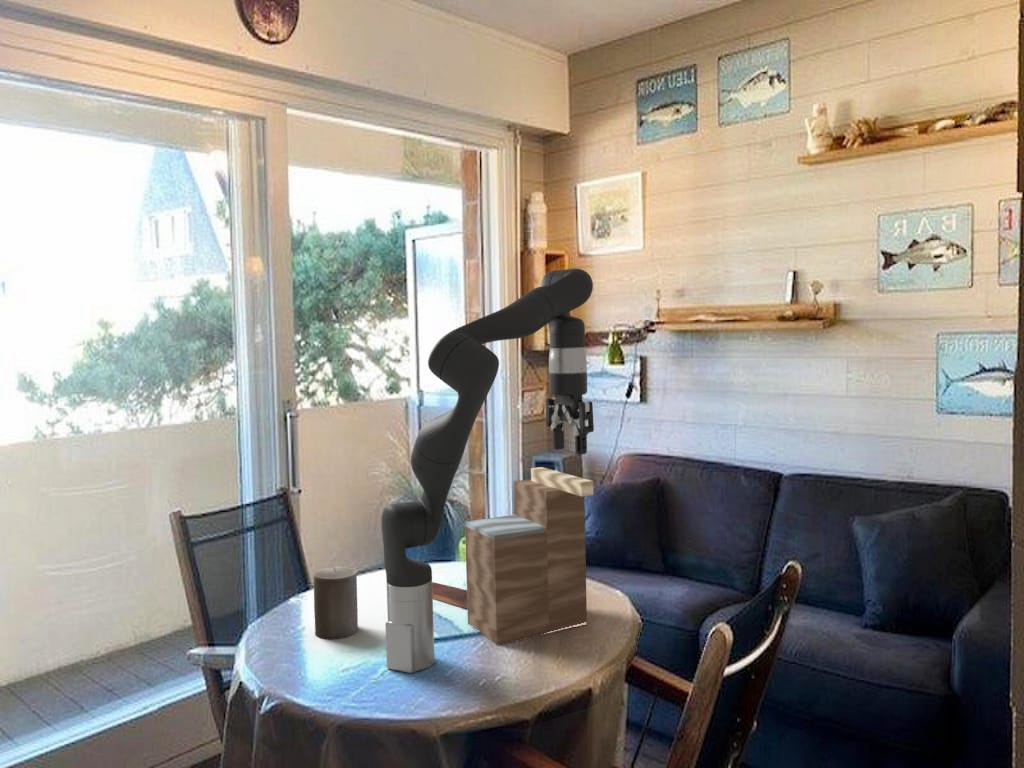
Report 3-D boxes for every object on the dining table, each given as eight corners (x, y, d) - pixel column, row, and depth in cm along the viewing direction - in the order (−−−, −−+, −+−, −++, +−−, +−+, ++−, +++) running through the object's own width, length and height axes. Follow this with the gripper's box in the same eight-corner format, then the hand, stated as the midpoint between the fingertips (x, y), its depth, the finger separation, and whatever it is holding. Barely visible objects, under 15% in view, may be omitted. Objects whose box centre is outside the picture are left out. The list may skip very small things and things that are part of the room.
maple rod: (593, 494, 173) (593, 481, 173) (581, 496, 172) (581, 482, 172) (542, 479, 193) (541, 467, 192) (531, 480, 191) (530, 468, 191)
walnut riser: (586, 625, 185) (584, 486, 183) (496, 645, 174) (493, 498, 172) (553, 606, 198) (550, 476, 196) (467, 623, 187) (464, 487, 185)
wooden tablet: (403, 586, 214) (432, 573, 221) (404, 594, 214) (433, 581, 221) (472, 609, 195) (501, 594, 202) (473, 618, 195) (502, 602, 202)
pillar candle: (315, 641, 179) (313, 574, 178) (314, 626, 188) (312, 562, 187) (360, 636, 181) (358, 571, 181) (356, 621, 191) (355, 559, 190)
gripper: (603, 370, 156) (605, 454, 157) (565, 368, 169) (567, 446, 170) (570, 372, 153) (572, 457, 154) (534, 370, 165) (535, 449, 166)
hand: (569, 451), depth 162 cm, fingers open, 8 cm apart
